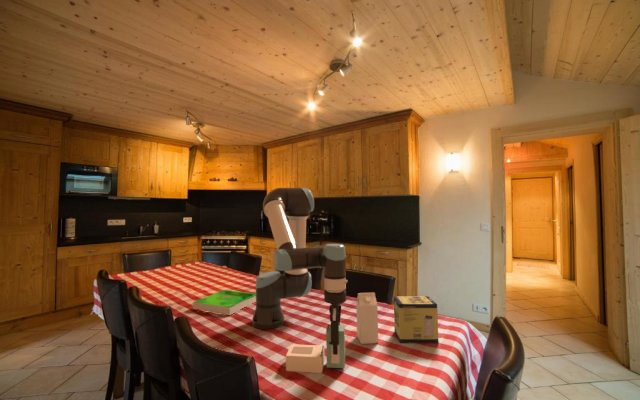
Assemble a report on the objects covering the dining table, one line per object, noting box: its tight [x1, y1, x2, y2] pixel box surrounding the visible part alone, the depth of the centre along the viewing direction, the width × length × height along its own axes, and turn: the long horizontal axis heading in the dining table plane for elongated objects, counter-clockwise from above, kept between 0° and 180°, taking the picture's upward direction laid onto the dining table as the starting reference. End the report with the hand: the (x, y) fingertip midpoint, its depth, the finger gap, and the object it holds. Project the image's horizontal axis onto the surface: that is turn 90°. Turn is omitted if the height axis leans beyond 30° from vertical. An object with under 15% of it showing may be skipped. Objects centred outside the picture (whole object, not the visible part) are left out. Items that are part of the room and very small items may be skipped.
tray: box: [192, 289, 256, 315], centre depth 160 cm, size 25×25×5 cm
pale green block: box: [325, 324, 346, 369], centre depth 96 cm, size 6×5×12 cm
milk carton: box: [355, 292, 379, 345], centre depth 115 cm, size 7×7×19 cm
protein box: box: [393, 295, 439, 344], centre depth 117 cm, size 10×16×16 cm
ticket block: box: [285, 343, 325, 374], centre depth 97 cm, size 12×8×5 cm, turn 83°
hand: (336, 358), depth 96 cm, fingers closed on pale green block, 5 cm apart
